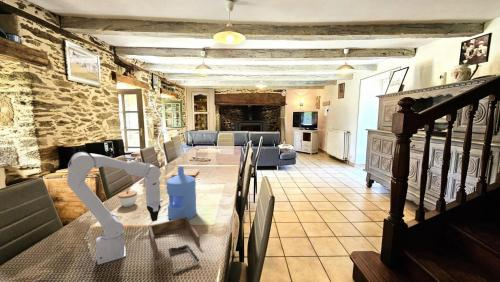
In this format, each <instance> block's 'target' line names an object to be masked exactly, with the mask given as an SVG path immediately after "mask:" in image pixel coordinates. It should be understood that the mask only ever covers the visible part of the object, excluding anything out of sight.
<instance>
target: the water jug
mask: <svg viewBox="0 0 500 282" xmlns="http://www.w3.org/2000/svg"><path fill="white" fill-rule="evenodd" d="M184 168H185V167H184V166H178V167H177V175H174V176H172V177H171V178H169V179H167V181H166V194H167V195H168V204H167V218H168V219H169V220H170V221H171V220H175V219H179V218H183V217H187V218H188V220H191V219H192V218H194V217H195V216H196V215H197V192H196V186H197V185H196V183H197V182H196V178H195V177H194V176H191V175H188V174H185V172H184V171H185V170H184Z"/></svg>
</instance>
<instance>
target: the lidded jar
mask: <svg viewBox="0 0 500 282" xmlns="http://www.w3.org/2000/svg"><path fill="white" fill-rule="evenodd" d="M117 199H118V203H119V204H120V206H122V207H123V208H129V207H133V206H134V204H135V203H136V202H137V200H138V192H137V190H125V191H122V192H119V193H118V194H117Z"/></svg>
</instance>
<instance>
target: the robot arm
mask: <svg viewBox="0 0 500 282" xmlns="http://www.w3.org/2000/svg"><path fill="white" fill-rule="evenodd" d="M101 167H108V168H109V167H110V168H114V169H119V170H125V173H126V174H127V175H132V176H137V177H142V178H144V181H145V182H144V183H145V184H144V185H145V186H144V187H145V205H146V206H145V207H146V210H147V211H148V212H149V217H150V220H151V222H152V223H153V222H157V221H158V218H159V211H160V210H161V208H162V206H161V203H162V202H163V201H164V199H163V198H161V187H160V176H161V175H162V171H161V169H160V168H159V166H156V165H154V164H152V163H150V162H141V161H140V160H138V159H134V160H133V159H131V160H129V161H125V160H122V159H121V160H120V159H116V158H113V157H111V156H106V155H102V154H97V153H88V152H85V151H79V152H76V153H74V154H73V155H72V156H71V158H70V160H69V162H68V164H67V178H66V183H67V186H68V187H69V189H71V191H72V192H73V193H74V194H75V195H76V197H77V198H78V199H79V200H80V201H81V202H82V204H83V206H85V208H87V209H88V211H89V212H90V213H91V215H93V216H94V218H95V219H96V220H97V221H98V223H99V225H100V226H101V228H102V230H103V233H102V234H101V236H99V237H96V238H95V239H96V240H95V245H96V246H95V248H96V249H95V250H96V253H95V254H96V260H97V265H103V264H106V263H109V262H111V261H112V262H113V261H115V260H119V259H123V258H126V257H127V256H126V255H127V252H126V246H125V242H124V239H125V238H124V224H122V222H121V221H120V219H119V217H118V215H115V214H113V213H111V211H110V210H109V209H108V208H107V207H106V206H105V204H104V203H103V202H102V200H101V199H100V198H99V197H98V196H97V194H96V193H95V192H94V191H93V190H92V189H91V187H90V186H89V185H88V183H87V181H86V180H87V179H86V178H87V177H88V174H89V173H90V172H91V171H92V170H93V169H94V168H95V169H99V168H101Z"/></svg>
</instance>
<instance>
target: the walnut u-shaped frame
mask: <svg viewBox="0 0 500 282" xmlns="http://www.w3.org/2000/svg"><path fill="white" fill-rule="evenodd" d="M184 227H185V229H186V230H187V232H188V234H189V235H190V237H191V238H192V240H193V241H194V243H195V245H196V247H201V243H200V237H201V236H200V235H199V233H198V232H197V231H196V229H195V227H194V225H192V223H191V221H190V219H188V218H187V217H183V218H179V219H175V220H171V219H170V220H167V221H161V222H159V223H154V224H151V225H148V238H149V240H150V244H151V248H152V252H153V255H154V260H156V261H157V260H159V250H158V249H159V248H158V244H157V241H156V238H155V235H157V234H160V233H165V232H169V231H172V230H177V229H180V228H184Z"/></svg>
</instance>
